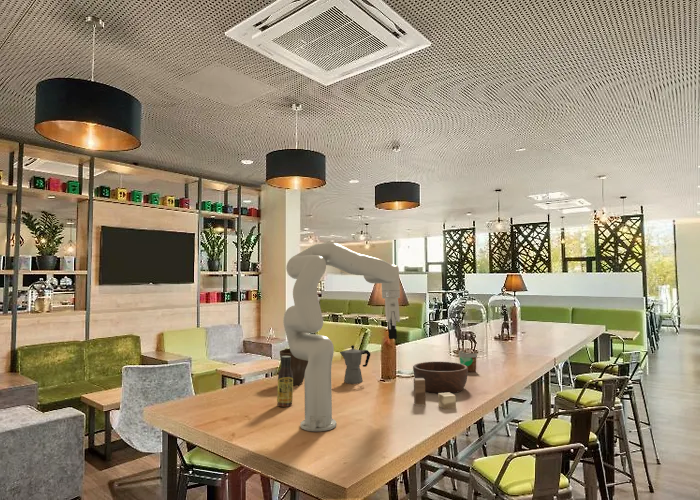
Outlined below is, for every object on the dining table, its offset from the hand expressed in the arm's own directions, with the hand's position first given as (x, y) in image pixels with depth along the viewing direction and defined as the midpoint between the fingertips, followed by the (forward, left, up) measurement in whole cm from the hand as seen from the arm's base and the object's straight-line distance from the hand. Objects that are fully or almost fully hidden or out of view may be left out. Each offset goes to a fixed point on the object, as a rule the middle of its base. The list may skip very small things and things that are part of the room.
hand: (392, 338), depth 189 cm
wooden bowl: (+22, -24, -27) cm, 42 cm away
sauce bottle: (-1, +45, -26) cm, 52 cm away
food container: (+60, -46, -26) cm, 80 cm away
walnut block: (-3, -10, -26) cm, 28 cm away
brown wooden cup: (+38, +45, -26) cm, 65 cm away
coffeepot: (+39, +15, -26) cm, 50 cm away
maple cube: (-8, -20, -26) cm, 34 cm away
